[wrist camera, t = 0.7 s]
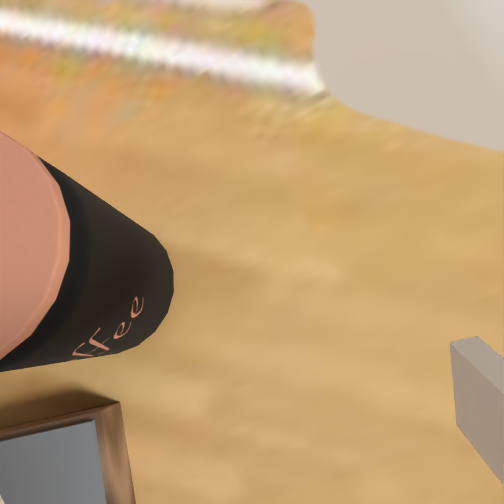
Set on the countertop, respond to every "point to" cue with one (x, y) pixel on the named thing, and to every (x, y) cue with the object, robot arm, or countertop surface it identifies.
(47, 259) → the coffee jar
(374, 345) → the countertop surface
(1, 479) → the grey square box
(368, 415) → the countertop surface
